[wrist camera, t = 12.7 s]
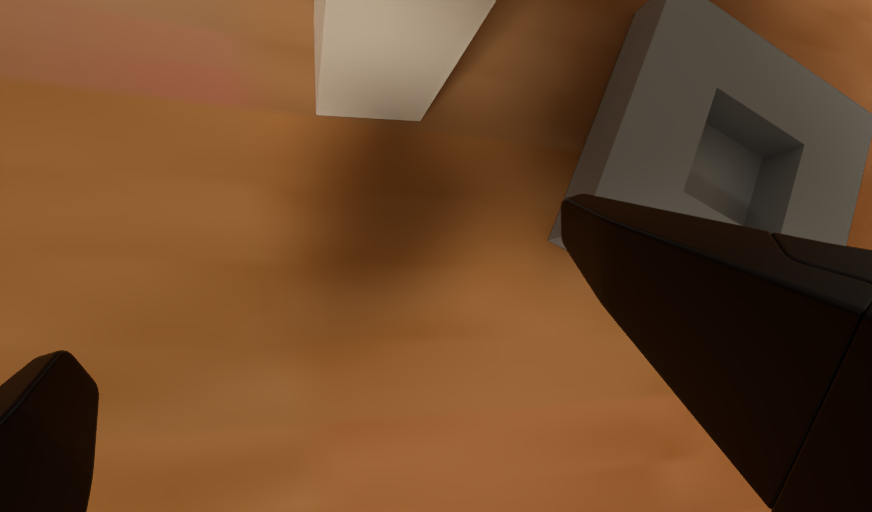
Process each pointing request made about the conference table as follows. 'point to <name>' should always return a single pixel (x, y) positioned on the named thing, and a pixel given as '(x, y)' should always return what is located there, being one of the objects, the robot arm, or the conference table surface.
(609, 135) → the grey square frame
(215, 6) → the conference table surface
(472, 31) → the plug
